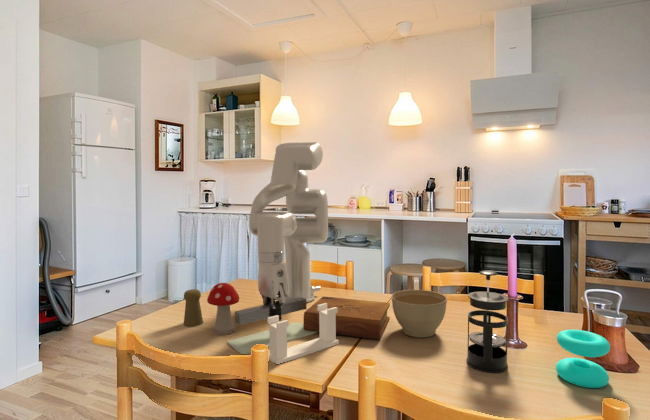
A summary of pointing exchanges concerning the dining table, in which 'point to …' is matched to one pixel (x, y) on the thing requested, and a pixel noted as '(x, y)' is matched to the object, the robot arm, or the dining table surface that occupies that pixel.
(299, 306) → the rail
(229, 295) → the decorative mushroom
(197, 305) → the cork
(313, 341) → the rack
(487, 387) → the dining table surface
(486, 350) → the french press
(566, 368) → the donuts
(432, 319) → the planter bowl
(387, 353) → the dining table surface
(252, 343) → the mat
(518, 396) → the dining table surface
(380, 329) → the diary
